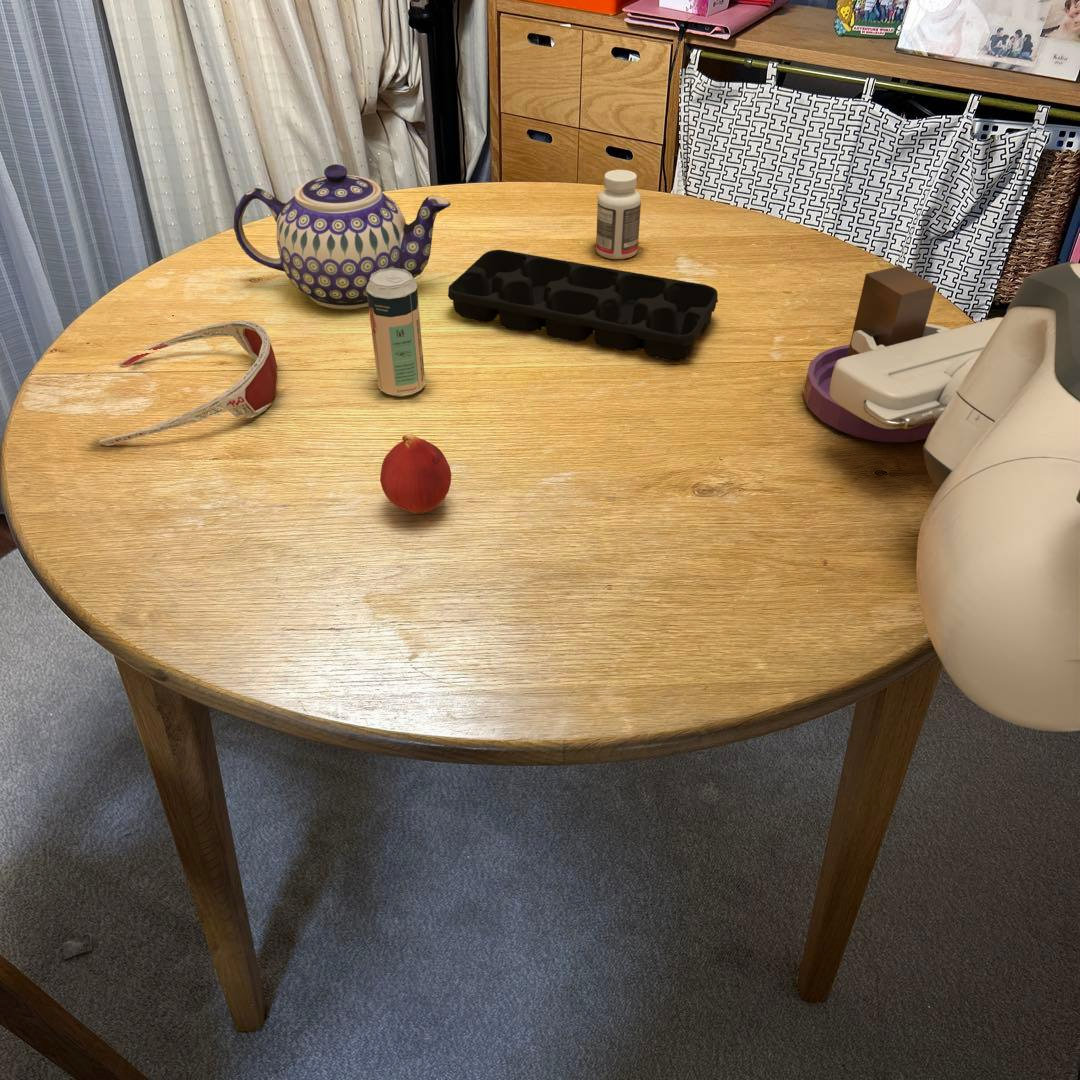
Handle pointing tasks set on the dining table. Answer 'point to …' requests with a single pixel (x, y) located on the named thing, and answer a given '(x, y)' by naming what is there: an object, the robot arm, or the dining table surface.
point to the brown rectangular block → (893, 306)
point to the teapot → (342, 236)
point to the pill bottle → (618, 216)
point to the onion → (415, 475)
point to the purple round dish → (839, 416)
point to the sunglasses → (247, 392)
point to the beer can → (396, 331)
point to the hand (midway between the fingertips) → (881, 330)
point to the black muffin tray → (585, 303)
